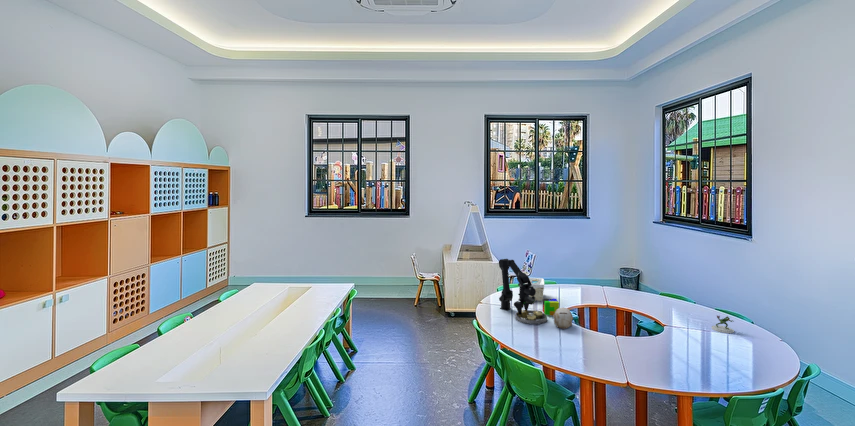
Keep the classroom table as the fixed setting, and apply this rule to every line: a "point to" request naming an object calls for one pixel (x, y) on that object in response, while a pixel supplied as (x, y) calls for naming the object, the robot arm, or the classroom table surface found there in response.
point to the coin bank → (563, 318)
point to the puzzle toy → (550, 306)
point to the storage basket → (537, 288)
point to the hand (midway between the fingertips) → (523, 313)
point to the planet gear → (523, 314)
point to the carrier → (532, 317)
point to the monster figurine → (723, 328)
